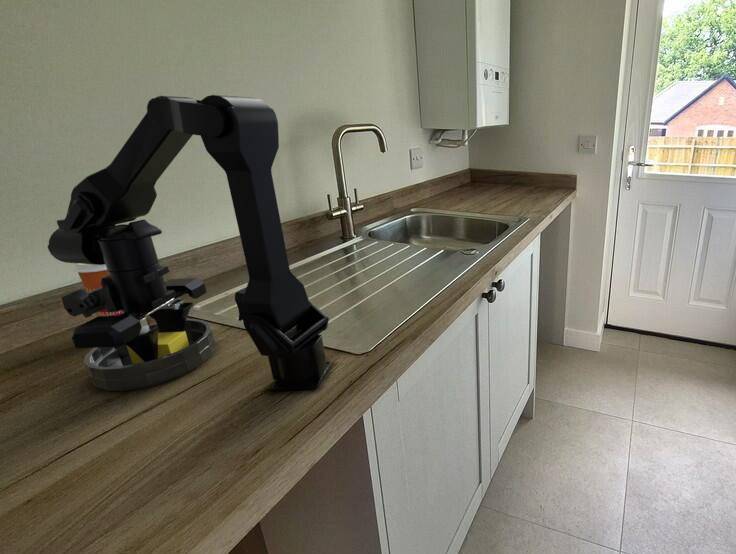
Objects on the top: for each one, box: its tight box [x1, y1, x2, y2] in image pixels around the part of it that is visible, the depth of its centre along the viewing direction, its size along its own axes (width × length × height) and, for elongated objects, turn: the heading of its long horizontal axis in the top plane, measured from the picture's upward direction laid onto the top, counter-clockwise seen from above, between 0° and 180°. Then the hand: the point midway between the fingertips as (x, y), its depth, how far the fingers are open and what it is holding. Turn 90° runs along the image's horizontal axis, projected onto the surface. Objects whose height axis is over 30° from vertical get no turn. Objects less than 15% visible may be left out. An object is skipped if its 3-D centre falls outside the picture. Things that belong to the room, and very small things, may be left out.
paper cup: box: [73, 263, 123, 317], centre depth 75 cm, size 8×8×14 cm
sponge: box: [127, 332, 189, 365], centre depth 65 cm, size 6×4×4 cm, turn 94°
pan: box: [83, 318, 217, 392], centre depth 65 cm, size 15×15×4 cm
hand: (163, 357), depth 65 cm, fingers closed on sponge, 4 cm apart
